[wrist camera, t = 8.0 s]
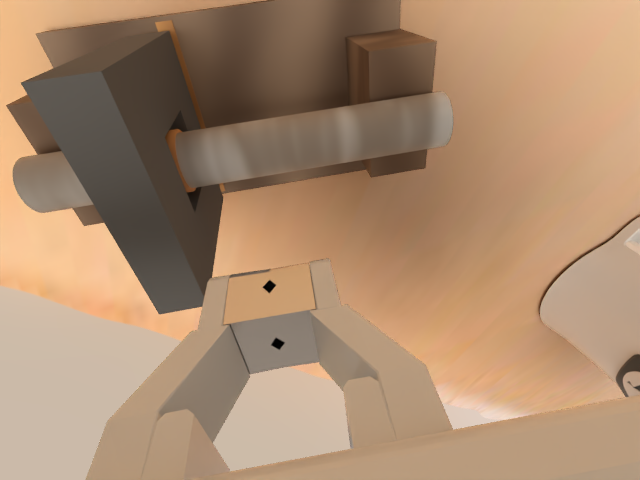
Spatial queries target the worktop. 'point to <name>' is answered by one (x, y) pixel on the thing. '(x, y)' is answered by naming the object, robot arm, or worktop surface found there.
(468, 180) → the worktop surface
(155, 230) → the dark grey flat slab
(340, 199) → the worktop surface
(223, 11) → the pipe stand
